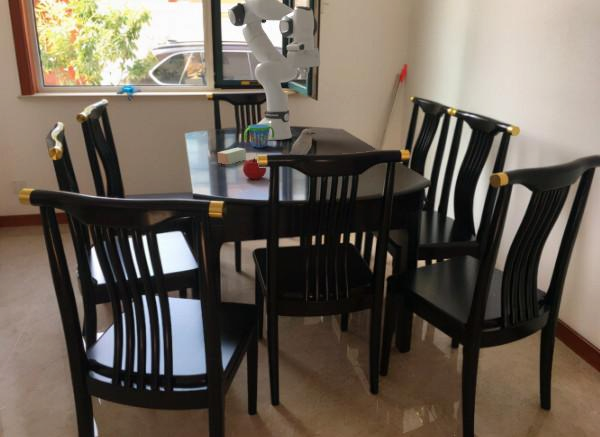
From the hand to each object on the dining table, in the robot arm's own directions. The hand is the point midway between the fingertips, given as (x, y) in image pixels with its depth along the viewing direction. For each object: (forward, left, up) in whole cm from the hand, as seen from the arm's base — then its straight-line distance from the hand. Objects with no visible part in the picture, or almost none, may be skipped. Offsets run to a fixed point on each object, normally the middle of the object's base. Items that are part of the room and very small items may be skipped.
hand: (304, 78), depth 230 cm
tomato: (+14, -52, -33) cm, 63 cm away
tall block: (-11, -31, -30) cm, 45 cm away
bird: (+15, -24, -33) cm, 43 cm away
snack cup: (-23, -7, -33) cm, 40 cm away
